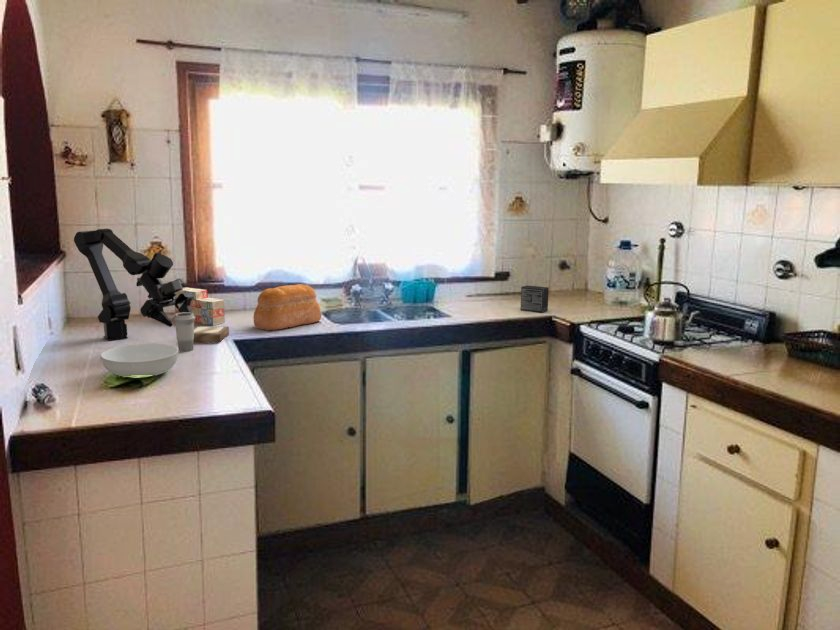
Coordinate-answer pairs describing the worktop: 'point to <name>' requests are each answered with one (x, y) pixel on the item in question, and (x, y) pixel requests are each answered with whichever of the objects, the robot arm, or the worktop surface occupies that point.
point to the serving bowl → (140, 359)
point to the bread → (286, 307)
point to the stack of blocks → (204, 307)
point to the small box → (534, 298)
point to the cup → (184, 330)
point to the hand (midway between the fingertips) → (182, 323)
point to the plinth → (209, 334)
